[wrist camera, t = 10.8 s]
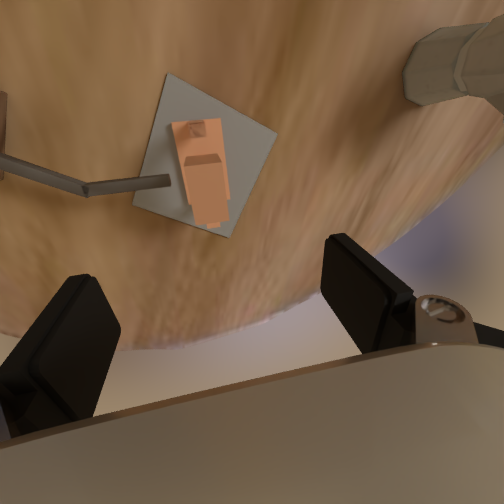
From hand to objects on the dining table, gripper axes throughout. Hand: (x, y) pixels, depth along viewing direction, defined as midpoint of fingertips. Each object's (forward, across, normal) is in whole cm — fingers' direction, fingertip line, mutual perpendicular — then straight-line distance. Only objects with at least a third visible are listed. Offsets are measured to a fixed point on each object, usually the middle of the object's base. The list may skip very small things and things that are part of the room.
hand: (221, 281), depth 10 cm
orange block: (+27, 0, 0) cm, 27 cm away
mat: (+28, 0, +1) cm, 28 cm away
